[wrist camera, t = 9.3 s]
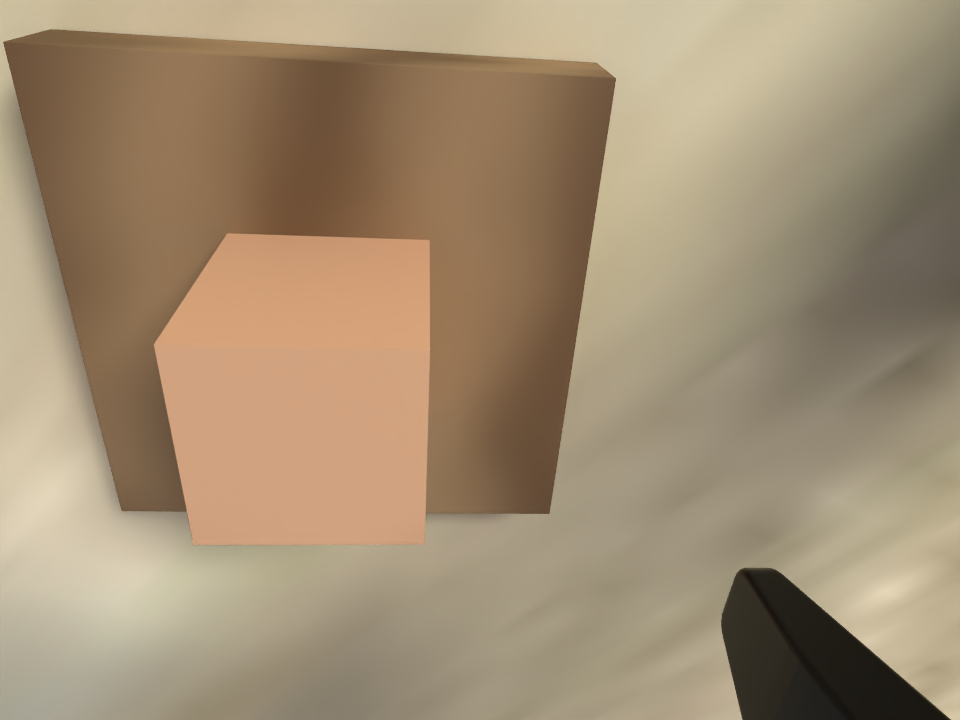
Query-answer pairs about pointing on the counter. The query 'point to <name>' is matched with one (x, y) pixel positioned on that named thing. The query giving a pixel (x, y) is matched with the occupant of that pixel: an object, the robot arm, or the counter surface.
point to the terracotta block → (302, 391)
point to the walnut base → (325, 220)
